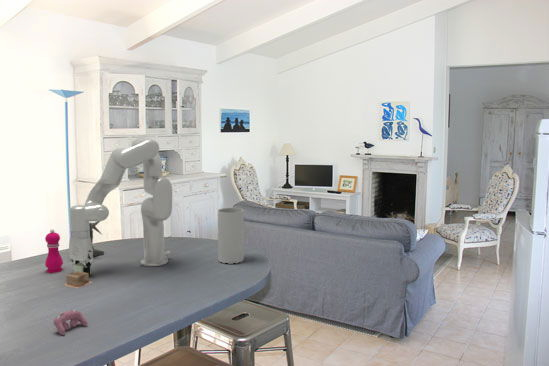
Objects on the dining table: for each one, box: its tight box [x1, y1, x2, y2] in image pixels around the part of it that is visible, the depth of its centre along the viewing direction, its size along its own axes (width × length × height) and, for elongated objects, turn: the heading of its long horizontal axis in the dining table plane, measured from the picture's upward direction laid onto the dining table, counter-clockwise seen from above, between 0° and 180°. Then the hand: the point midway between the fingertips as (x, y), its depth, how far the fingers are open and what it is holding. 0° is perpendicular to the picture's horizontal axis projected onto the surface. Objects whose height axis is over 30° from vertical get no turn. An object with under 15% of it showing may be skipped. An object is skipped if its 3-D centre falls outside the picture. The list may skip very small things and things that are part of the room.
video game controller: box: [53, 309, 88, 336], centre depth 167 cm, size 10×5×7 cm, turn 146°
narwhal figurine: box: [89, 221, 105, 258], centre depth 248 cm, size 14×15×18 cm
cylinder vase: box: [217, 207, 245, 265], centre depth 243 cm, size 12×12×25 cm
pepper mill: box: [44, 229, 64, 274], centre depth 223 cm, size 7×7×20 cm
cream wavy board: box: [63, 281, 93, 289], centre depth 213 cm, size 17×15×1 cm
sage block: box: [72, 261, 92, 276], centre depth 218 cm, size 5×5×5 cm
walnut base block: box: [66, 271, 90, 287], centre depth 208 cm, size 6×6×4 cm
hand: (82, 274), depth 218 cm, fingers closed on sage block, 5 cm apart
